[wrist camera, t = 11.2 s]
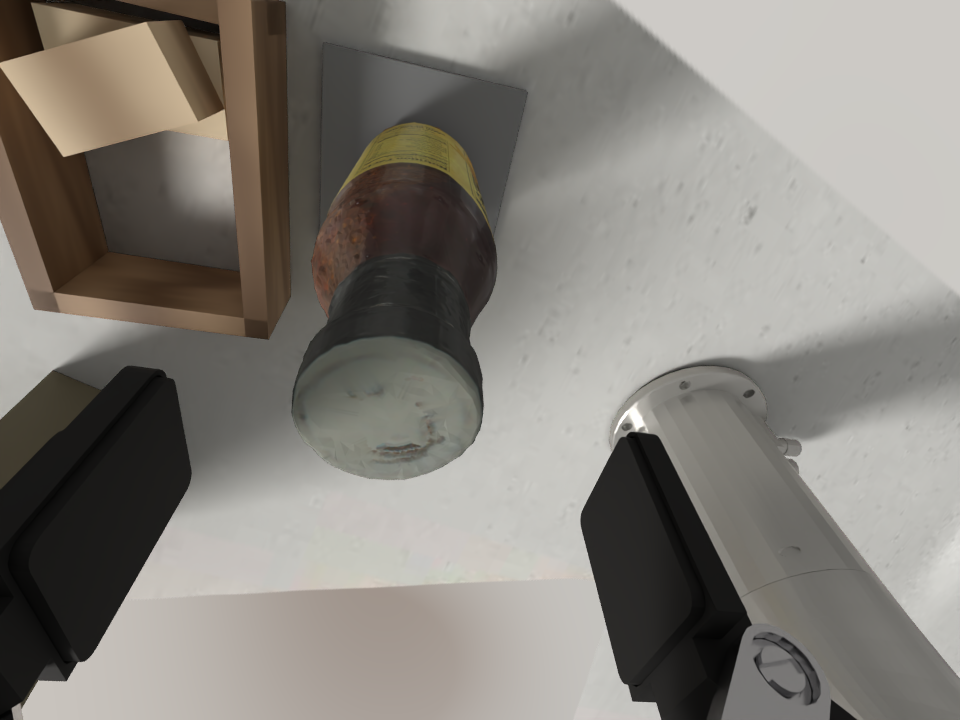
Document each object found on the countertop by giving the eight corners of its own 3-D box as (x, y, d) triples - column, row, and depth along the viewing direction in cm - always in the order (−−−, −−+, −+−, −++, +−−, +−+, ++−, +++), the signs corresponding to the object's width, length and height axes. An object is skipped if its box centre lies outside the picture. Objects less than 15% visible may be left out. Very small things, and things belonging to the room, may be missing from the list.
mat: (525, 90, 25) (527, 92, 24) (484, 266, 30) (485, 270, 30) (325, 42, 23) (323, 43, 22) (321, 239, 28) (319, 243, 28)
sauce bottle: (449, 248, 29) (461, 548, 13) (346, 208, 27) (210, 500, 11) (495, 140, 25) (589, 366, 9) (381, 87, 24) (256, 253, 8)
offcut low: (241, 37, 23) (217, 41, 20) (248, 127, 25) (228, 140, 23) (76, 3, 22) (31, 2, 19) (100, 101, 24) (61, 111, 21)
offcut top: (181, 20, 20) (146, 21, 17) (224, 109, 22) (198, 121, 19) (50, 56, 20) (-3, 63, 18) (104, 140, 22) (63, 157, 20)
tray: (285, 2, 22) (251, 0, 18) (290, 296, 31) (268, 339, 27) (-3, -71, 20) (-116, -91, 16) (91, 267, 29) (34, 309, 24)
